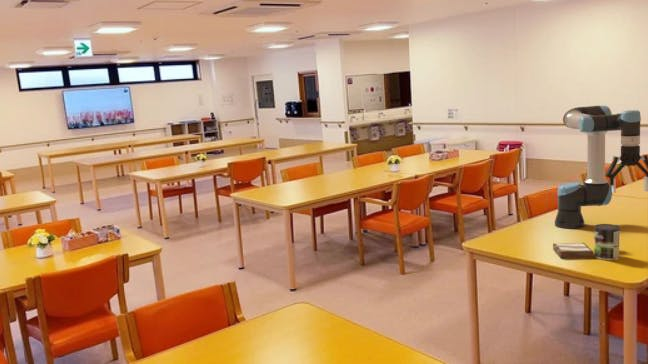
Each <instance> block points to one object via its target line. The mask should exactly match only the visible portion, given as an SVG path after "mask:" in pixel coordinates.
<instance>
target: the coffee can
mask: <svg viewBox="0 0 648 364" xmlns="http://www.w3.org/2000/svg"><path fill="white" fill-rule="evenodd" d="M593 228H594V234H593V235H594V237H593V238H594V241H593V242H594V245H593V246H594V247H593V248H594V249H593V258H594V257H595V258H596V259H598V260H602V261H615V260H618V259H620V230H621V227H620V225H617V224H610V223H599V224H598V223H597V224H596V225H594V226H593Z"/></svg>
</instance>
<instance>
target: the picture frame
mask: <svg viewBox="0 0 648 364" xmlns="http://www.w3.org/2000/svg"><path fill="white" fill-rule="evenodd" d="M552 250H553V251H554V252H555V254H556V255H557V256H558V257H559V258H560V260H561V259H594V250H593V249H591V247H590V246H588V245H587V244H586V243H585V242H567V243H565V242H563V243H562V242H559V243H552Z"/></svg>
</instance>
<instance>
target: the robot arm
mask: <svg viewBox="0 0 648 364" xmlns="http://www.w3.org/2000/svg"><path fill="white" fill-rule="evenodd" d="M641 120H642V119H641V112H640V110H638V109H637V110H635V109H634V110H629V109H628V110H622V111H621V113H616V114H615V113H612V110H611V109H610V107H609V106H607V105H590V106H579V107H578V106H577V107H574V108H571V109H569V110H568V111H566V112H565V113H564V114H563V118H562V122H563V125H564V126H566V127H567V128H569V129H573V130H579V131H580V132H581V133H584V134H586V136H587V137H586V138H587V139H586V140H587V145H586V148H587V149H586V151H587V152H586V153H587V154H586V155H587V157H586V159H587V160H586V161H587V162H586V163H587V165H586V166H587V170H586V171H587V175H586V176H587V177H586V179H585V180H584V181H583V182H584V183H583V184H582V183H581V182H576V181H575V182H565V183H563V184H561V185H559V186H558V188H557V214H556V216H555V219H554V226H555V227H557V228H562V229H580V228H583V227H585V224H586V223H585V220H584V216H583V214H582V207H601V206H607V205H608V204H610V203H611V201H612V198H613V193H614V194H615V193H616V192H617V190H616V189H617V187H616V186H617V185H616V184H617V179H616V178H615V177H616V176H617V175H618V174H619V173H620V172H621V171H622V169H623V168H625V167H630V166H632V167H633V166H635V167H637V168H638V169H639V170H640V171H641V172H642V173H643V174H644V176H643V191H644V192H648V155H647V154H642V155H641V154H640V153H641V146H640V144H641ZM613 131H614V132H615V131H620V145H621V146H620V156H615V155H614V156H613V158H612V160H611V161H612V162H611V163H610V165H609V166H608V169H607V170H606V134H607V133H608V132H613ZM619 161H620V162H619ZM640 161H643V163H644V164H645V166H646V168H647V169H646V168H645V167H644V166H643V165H642V163H641V162H640ZM618 162H619V164H618ZM617 164H618V165H617ZM606 177H607V178H608V179H609V180H607V179H606Z"/></svg>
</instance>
